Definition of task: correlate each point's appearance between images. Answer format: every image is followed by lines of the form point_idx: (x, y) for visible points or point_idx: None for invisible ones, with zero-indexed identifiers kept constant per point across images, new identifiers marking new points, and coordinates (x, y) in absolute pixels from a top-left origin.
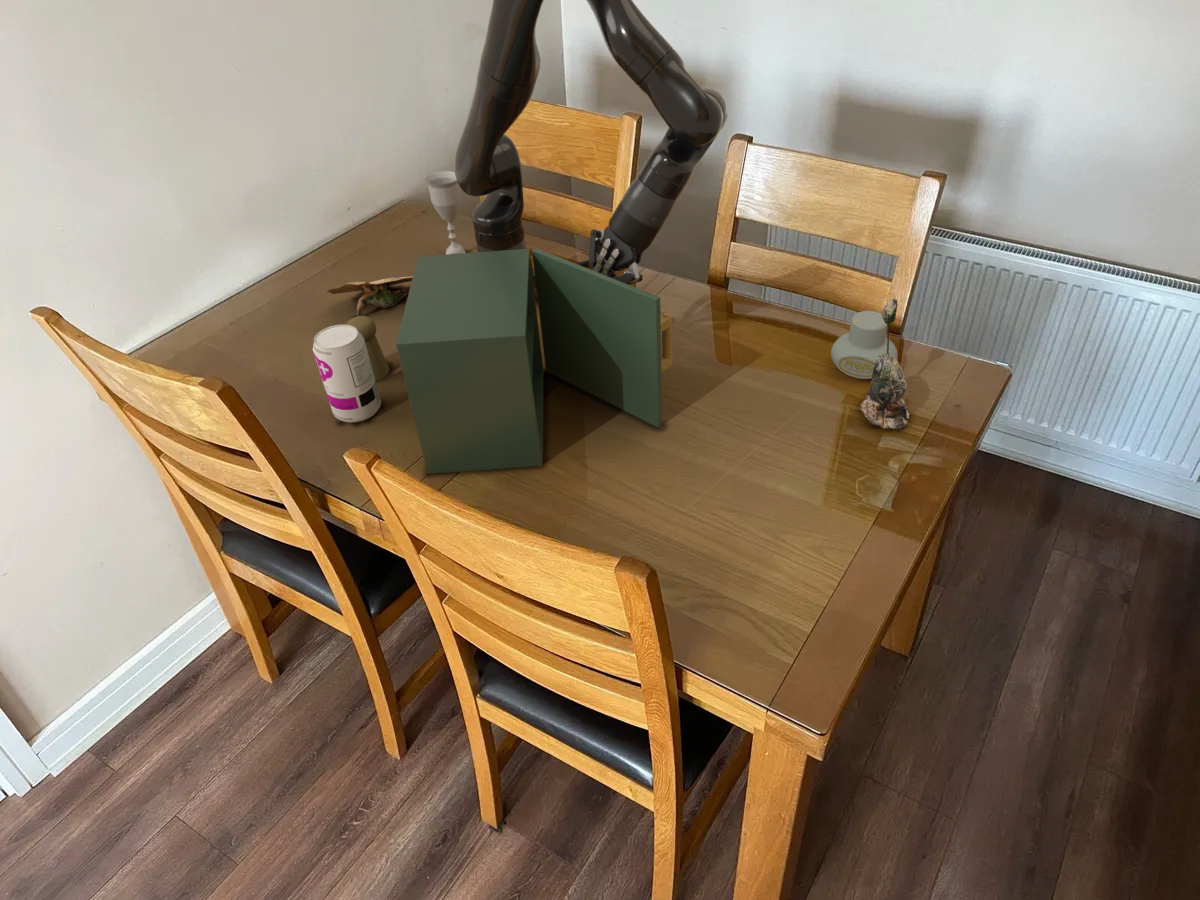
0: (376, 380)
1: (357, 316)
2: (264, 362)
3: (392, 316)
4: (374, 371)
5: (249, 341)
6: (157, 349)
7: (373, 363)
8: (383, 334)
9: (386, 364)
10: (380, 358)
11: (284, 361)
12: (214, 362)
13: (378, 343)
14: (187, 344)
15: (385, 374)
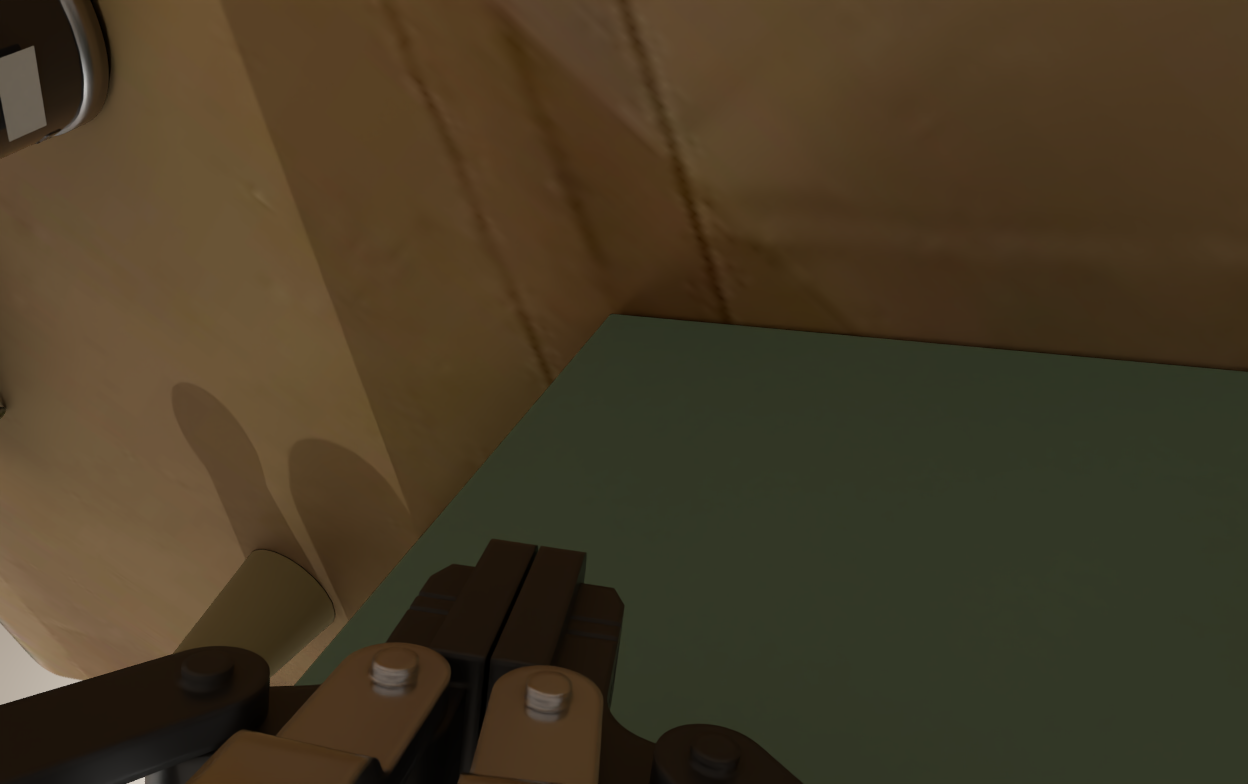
0: (333, 614)
1: (2, 415)
2: (153, 636)
3: (17, 354)
4: (309, 636)
5: (61, 590)
6: (51, 662)
7: (286, 652)
8: (111, 439)
9: (285, 591)
10: (272, 634)
11: (163, 621)
12: (123, 664)
13: (217, 644)
14: (45, 635)
15: (319, 593)
